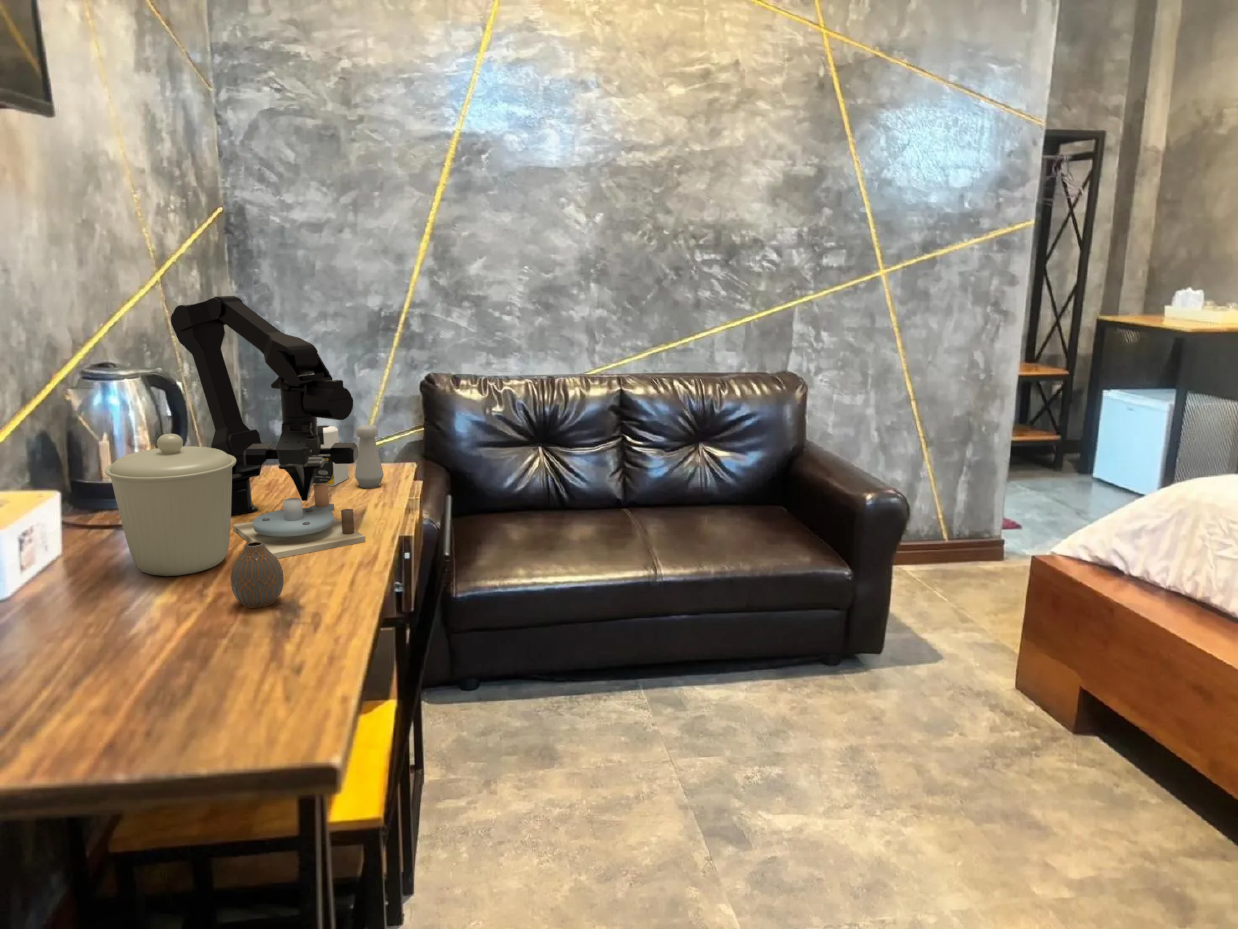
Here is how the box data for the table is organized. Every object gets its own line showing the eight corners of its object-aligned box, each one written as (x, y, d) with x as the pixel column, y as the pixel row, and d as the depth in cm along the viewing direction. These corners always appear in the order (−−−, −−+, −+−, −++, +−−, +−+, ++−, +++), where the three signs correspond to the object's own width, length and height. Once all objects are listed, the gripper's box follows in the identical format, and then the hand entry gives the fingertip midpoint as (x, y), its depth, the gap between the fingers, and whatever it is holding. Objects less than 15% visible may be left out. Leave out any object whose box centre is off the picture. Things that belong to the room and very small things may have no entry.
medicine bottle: (302, 484, 192) (298, 429, 189) (318, 476, 199) (315, 423, 196) (334, 486, 191) (330, 430, 188) (349, 478, 198) (346, 424, 195)
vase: (235, 615, 123) (229, 554, 121) (230, 598, 129) (225, 540, 127) (288, 607, 126) (284, 547, 124) (281, 591, 132) (277, 533, 130)
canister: (99, 565, 142) (83, 433, 137) (215, 540, 155) (203, 419, 150) (144, 595, 130) (127, 451, 125) (265, 565, 143) (254, 434, 138)
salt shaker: (379, 489, 189) (376, 428, 186) (352, 489, 189) (348, 427, 186) (387, 482, 194) (384, 423, 192) (360, 482, 195) (357, 422, 192)
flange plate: (305, 539, 148) (303, 510, 146) (237, 532, 151) (234, 503, 150) (359, 512, 163) (357, 485, 162) (295, 506, 166) (293, 480, 165)
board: (233, 530, 161) (231, 502, 159) (322, 515, 170) (320, 489, 169) (269, 560, 145) (267, 530, 144) (365, 541, 155) (363, 513, 154)
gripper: (230, 423, 151) (238, 514, 154) (346, 422, 153) (351, 511, 156) (248, 412, 161) (255, 497, 165) (356, 411, 164) (360, 495, 167)
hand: (305, 500), depth 163 cm, fingers closed
